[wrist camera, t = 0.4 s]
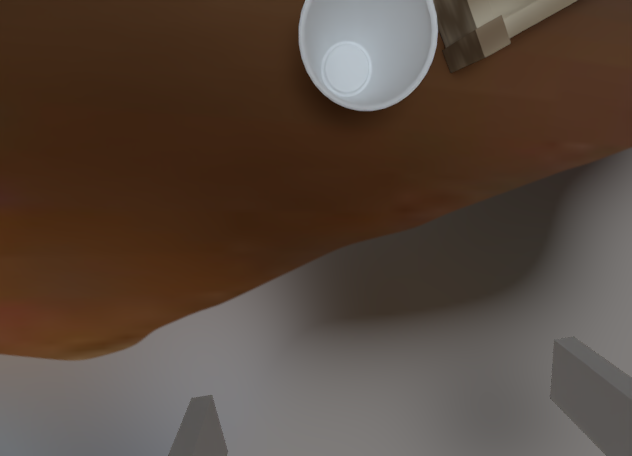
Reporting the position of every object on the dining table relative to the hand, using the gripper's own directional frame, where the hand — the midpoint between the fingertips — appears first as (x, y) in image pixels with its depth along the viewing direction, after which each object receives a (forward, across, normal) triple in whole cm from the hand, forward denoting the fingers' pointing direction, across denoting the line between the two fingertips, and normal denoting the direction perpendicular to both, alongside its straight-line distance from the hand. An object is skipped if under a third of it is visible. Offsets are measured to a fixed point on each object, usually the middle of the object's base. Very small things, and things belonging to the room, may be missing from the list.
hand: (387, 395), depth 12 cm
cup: (+26, +4, +16) cm, 31 cm away
